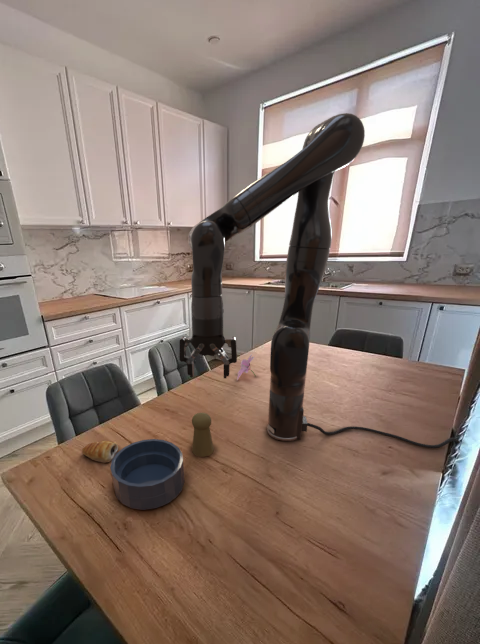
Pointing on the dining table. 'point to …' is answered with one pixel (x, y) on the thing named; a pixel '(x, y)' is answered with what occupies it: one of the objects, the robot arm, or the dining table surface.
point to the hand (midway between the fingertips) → (208, 376)
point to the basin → (148, 474)
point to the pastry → (101, 451)
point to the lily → (245, 366)
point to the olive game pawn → (202, 435)
